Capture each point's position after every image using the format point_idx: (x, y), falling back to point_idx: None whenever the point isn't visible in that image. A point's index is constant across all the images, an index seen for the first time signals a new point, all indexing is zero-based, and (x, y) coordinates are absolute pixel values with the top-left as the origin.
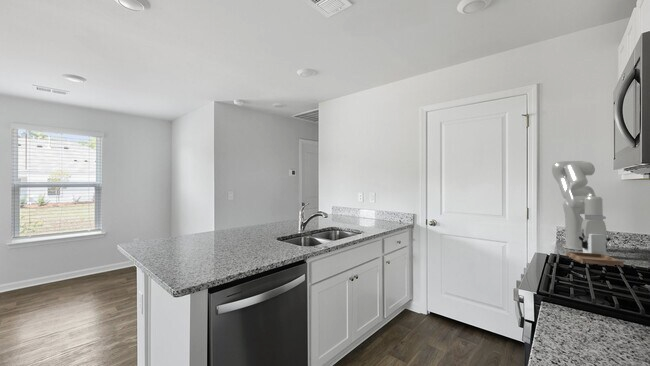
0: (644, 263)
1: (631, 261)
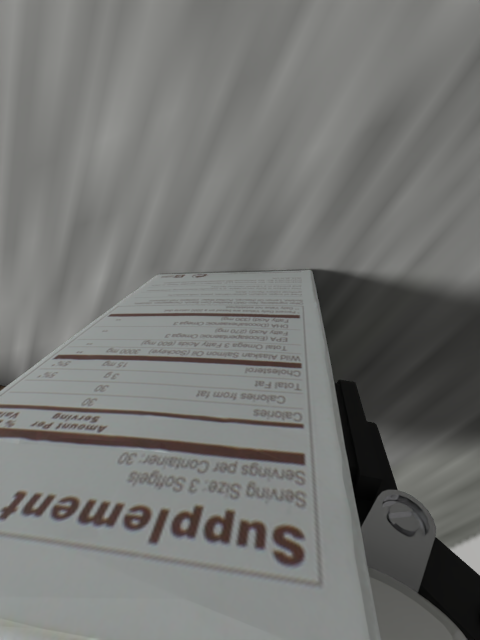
0: (470, 539)
1: (426, 496)
